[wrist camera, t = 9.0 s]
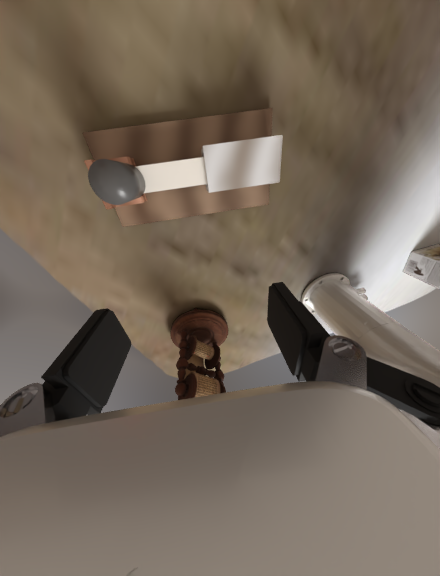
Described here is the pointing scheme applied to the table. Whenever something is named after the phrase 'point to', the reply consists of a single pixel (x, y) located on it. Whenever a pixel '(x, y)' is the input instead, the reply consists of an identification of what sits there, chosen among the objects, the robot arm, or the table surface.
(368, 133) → the table surface
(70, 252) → the table surface
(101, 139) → the wooden board
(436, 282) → the coffee box
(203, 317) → the wooden spool holder
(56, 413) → the robot arm
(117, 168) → the white block with knob
